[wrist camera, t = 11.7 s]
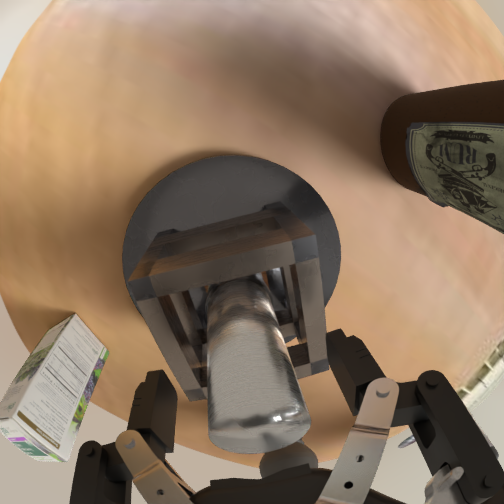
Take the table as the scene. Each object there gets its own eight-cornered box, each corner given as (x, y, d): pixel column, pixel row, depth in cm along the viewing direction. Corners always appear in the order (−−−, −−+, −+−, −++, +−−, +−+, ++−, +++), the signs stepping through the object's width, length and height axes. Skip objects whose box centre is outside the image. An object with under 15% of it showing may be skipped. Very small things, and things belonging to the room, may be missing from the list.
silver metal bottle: (268, 255, 22) (333, 402, 9) (252, 301, 23) (289, 455, 10) (214, 241, 21) (218, 396, 8) (201, 290, 22) (196, 451, 9)
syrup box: (80, 364, 26) (40, 464, 13) (46, 327, 24) (-12, 423, 10) (110, 351, 26) (71, 466, 12) (74, 309, 23) (9, 419, 10)
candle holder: (240, 412, 31) (268, 595, 8) (265, 383, 29) (313, 593, 6) (281, 420, 33) (323, 583, 10) (307, 393, 31) (370, 573, 8)
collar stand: (317, 135, 20) (382, 132, 12) (340, 320, 27) (381, 385, 18) (99, 192, 20) (34, 225, 11) (170, 361, 27) (160, 436, 18)
